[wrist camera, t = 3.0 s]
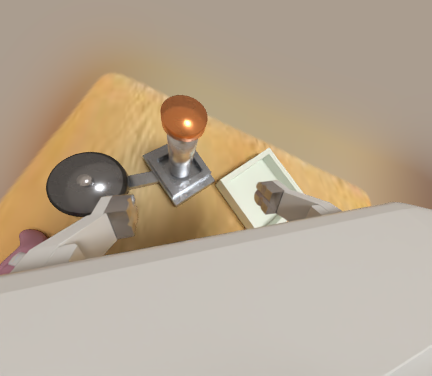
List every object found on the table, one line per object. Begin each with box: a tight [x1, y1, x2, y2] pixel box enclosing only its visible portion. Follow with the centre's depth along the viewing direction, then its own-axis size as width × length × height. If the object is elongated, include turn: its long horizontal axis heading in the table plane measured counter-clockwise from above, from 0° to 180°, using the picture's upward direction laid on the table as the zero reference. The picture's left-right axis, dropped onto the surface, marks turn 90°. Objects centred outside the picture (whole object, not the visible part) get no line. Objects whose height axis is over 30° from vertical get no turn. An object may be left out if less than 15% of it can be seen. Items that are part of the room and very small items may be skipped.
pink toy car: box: [0, 229, 47, 275], centre depth 18 cm, size 10×5×7 cm, turn 151°
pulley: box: [46, 152, 129, 217], centre depth 22 cm, size 9×9×5 cm
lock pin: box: [161, 95, 207, 178], centre depth 20 cm, size 4×4×13 cm
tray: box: [216, 148, 304, 229], centre depth 30 cm, size 13×13×4 cm
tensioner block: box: [128, 144, 215, 207], centre depth 25 cm, size 10×16×4 cm, turn 126°
